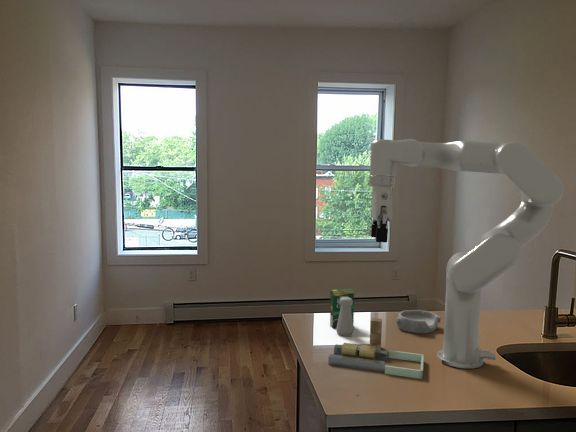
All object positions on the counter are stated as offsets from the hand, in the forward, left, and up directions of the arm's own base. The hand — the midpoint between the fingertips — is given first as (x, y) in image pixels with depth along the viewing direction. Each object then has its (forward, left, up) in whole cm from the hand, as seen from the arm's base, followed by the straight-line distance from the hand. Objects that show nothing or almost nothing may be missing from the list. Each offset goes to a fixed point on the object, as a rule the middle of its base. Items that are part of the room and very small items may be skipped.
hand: (378, 239), depth 140 cm
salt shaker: (+11, -8, -34) cm, 37 cm away
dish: (-11, -26, -34) cm, 45 cm away
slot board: (+3, +13, -34) cm, 36 cm away
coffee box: (+14, -18, -34) cm, 41 cm away
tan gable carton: (0, +2, -34) cm, 34 cm away
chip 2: (+1, +13, -33) cm, 35 cm away
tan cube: (+6, +13, -33) cm, 36 cm away
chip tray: (-10, +13, -34) cm, 37 cm away
